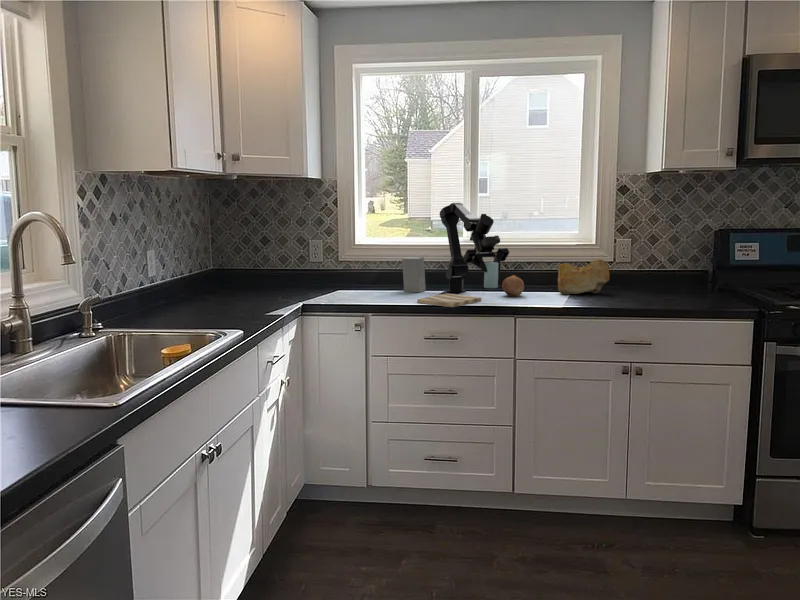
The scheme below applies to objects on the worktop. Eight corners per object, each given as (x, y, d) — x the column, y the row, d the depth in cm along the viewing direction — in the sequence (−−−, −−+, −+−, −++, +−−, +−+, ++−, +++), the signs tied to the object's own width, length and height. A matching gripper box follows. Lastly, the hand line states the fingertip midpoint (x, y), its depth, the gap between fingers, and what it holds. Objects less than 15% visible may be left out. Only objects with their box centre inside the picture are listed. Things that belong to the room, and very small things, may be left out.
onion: (512, 301, 295) (515, 280, 298) (527, 298, 287) (530, 276, 290) (496, 295, 290) (499, 273, 293) (510, 291, 283) (513, 269, 285)
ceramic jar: (489, 285, 275) (489, 261, 274) (500, 286, 272) (501, 262, 270) (481, 287, 271) (481, 262, 270) (493, 288, 268) (493, 263, 266)
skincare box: (425, 291, 306) (425, 256, 304) (417, 293, 300) (417, 258, 298) (410, 289, 311) (410, 256, 308) (402, 291, 305) (401, 257, 302)
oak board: (446, 296, 290) (446, 293, 289) (481, 300, 278) (481, 297, 278) (417, 302, 275) (417, 299, 274) (452, 307, 263) (452, 303, 263)
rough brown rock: (597, 291, 309) (596, 258, 307) (613, 293, 292) (612, 259, 291) (548, 294, 306) (547, 261, 305) (562, 296, 289) (561, 262, 288)
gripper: (466, 229, 268) (478, 259, 260) (507, 228, 274) (520, 257, 266) (458, 247, 277) (469, 277, 268) (498, 246, 283) (510, 274, 275)
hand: (492, 271), depth 269 cm, fingers closed on ceramic jar, 6 cm apart
